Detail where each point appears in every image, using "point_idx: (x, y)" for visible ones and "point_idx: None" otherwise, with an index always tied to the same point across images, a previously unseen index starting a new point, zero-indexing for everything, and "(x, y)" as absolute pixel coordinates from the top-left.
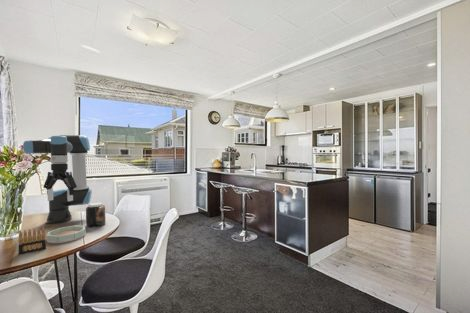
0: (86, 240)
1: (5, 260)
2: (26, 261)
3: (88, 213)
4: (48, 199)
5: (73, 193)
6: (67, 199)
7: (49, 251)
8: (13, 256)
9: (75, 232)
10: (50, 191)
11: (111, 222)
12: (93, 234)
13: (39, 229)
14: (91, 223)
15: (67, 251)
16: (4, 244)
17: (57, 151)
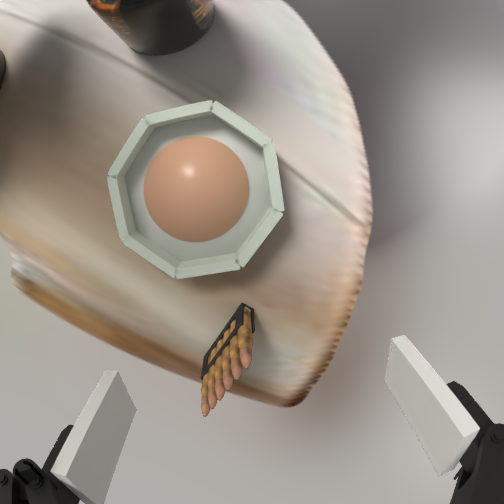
0: (334, 191)
1: None
2: (295, 376)
3: (143, 22)
4: (130, 419)
5: (465, 389)
6: (392, 393)
7: (291, 317)
8: None
9: (272, 198)
10: (97, 473)
11: None
12: (295, 120)
13: (240, 372)
14: (177, 42)
15: (357, 295)
16: (63, 319)
17: None
